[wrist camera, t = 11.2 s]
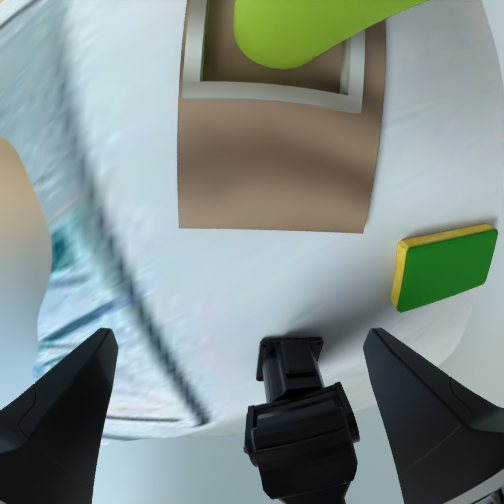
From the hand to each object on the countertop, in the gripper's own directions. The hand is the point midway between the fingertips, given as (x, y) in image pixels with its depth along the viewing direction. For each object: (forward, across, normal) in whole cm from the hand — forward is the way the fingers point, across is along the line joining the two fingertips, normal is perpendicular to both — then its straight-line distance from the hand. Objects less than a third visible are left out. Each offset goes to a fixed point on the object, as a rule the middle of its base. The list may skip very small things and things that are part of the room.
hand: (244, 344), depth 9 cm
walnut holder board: (+13, -3, -10) cm, 17 cm away
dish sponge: (+14, -22, +4) cm, 26 cm away
